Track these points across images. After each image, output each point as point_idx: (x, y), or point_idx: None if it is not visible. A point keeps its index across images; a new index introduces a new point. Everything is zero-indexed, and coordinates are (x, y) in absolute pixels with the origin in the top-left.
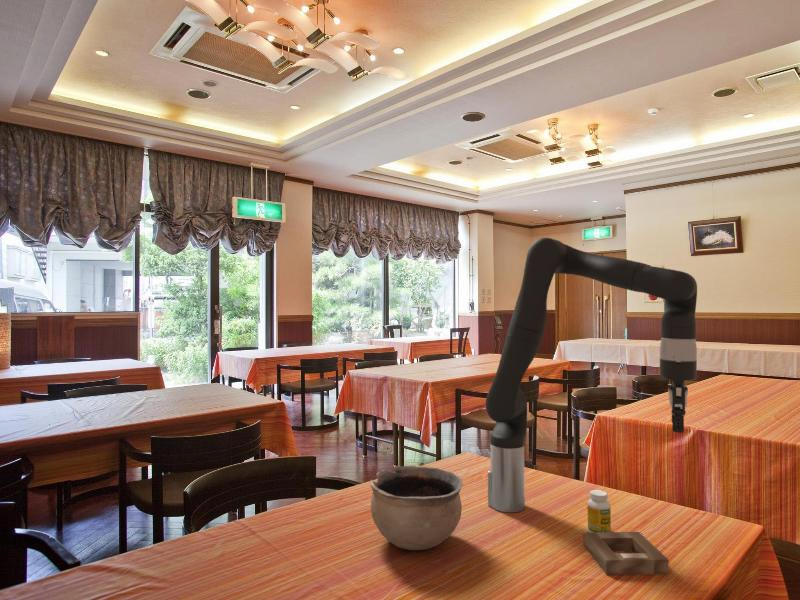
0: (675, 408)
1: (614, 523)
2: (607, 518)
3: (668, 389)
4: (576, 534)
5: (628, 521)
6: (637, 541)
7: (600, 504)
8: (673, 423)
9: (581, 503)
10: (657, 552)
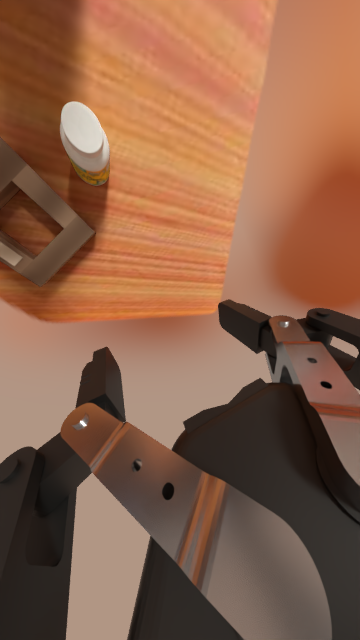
0: (258, 334)
1: (137, 183)
2: (83, 174)
3: (234, 624)
4: (44, 122)
5: (157, 201)
6: (59, 238)
7: (70, 147)
8: (92, 373)
9: (177, 103)
10: (48, 270)
